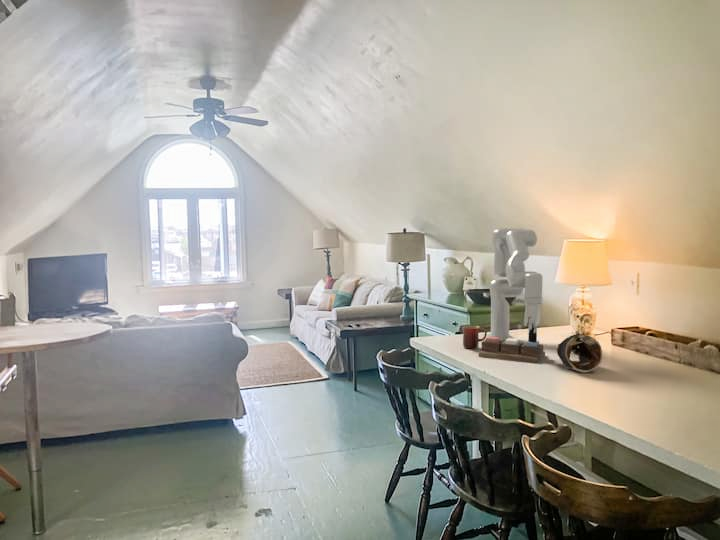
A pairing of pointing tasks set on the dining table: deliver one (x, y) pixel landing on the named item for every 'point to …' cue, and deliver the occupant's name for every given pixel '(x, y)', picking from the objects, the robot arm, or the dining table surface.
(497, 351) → the keypad
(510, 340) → the ivory key
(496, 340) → the brick key
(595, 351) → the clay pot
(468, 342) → the mug
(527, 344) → the slate key
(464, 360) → the dining table surface
